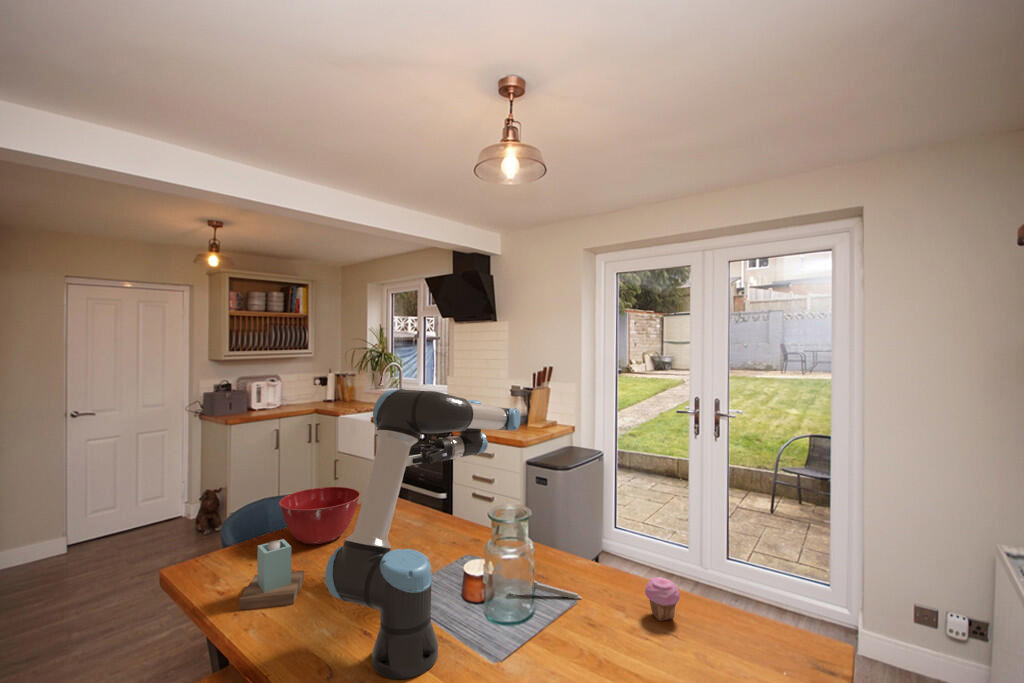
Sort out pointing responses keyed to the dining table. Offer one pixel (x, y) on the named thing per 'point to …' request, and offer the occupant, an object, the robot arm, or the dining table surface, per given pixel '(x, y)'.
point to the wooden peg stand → (276, 597)
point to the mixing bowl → (319, 513)
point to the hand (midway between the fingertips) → (391, 458)
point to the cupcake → (662, 597)
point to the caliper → (556, 591)
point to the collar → (274, 566)
